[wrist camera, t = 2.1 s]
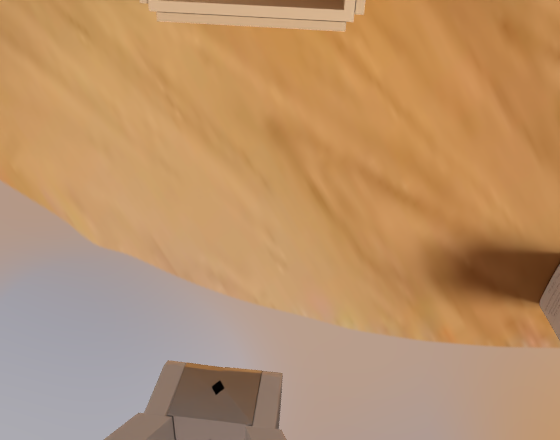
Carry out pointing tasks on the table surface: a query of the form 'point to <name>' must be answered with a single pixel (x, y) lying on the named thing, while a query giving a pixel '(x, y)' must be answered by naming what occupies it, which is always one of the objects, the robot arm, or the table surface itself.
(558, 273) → the skincare box
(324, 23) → the carton
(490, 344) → the table surface
